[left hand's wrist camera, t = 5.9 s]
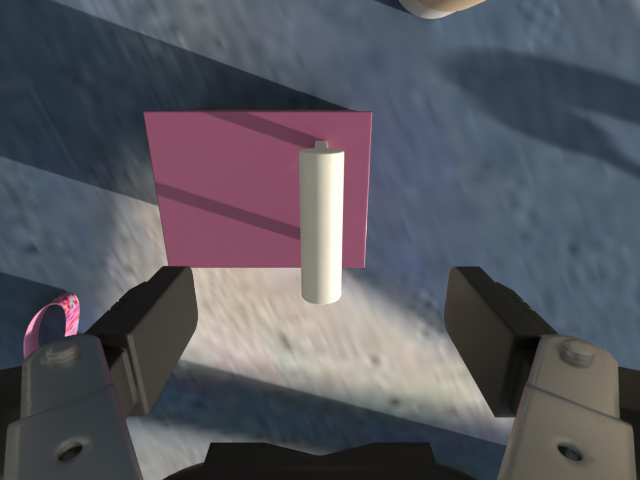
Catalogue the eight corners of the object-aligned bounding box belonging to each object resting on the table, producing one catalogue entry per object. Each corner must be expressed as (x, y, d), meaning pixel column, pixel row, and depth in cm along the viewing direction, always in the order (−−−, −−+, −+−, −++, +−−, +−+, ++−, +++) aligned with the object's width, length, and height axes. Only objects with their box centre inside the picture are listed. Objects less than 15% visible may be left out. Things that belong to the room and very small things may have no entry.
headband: (45, 284, 36) (29, 294, 34) (84, 296, 37) (71, 307, 35) (32, 364, 40) (17, 378, 38) (68, 374, 41) (55, 389, 38)
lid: (369, 111, 22) (398, 114, 14) (362, 261, 26) (382, 331, 18) (151, 111, 22) (55, 114, 14) (174, 261, 26) (109, 331, 18)
